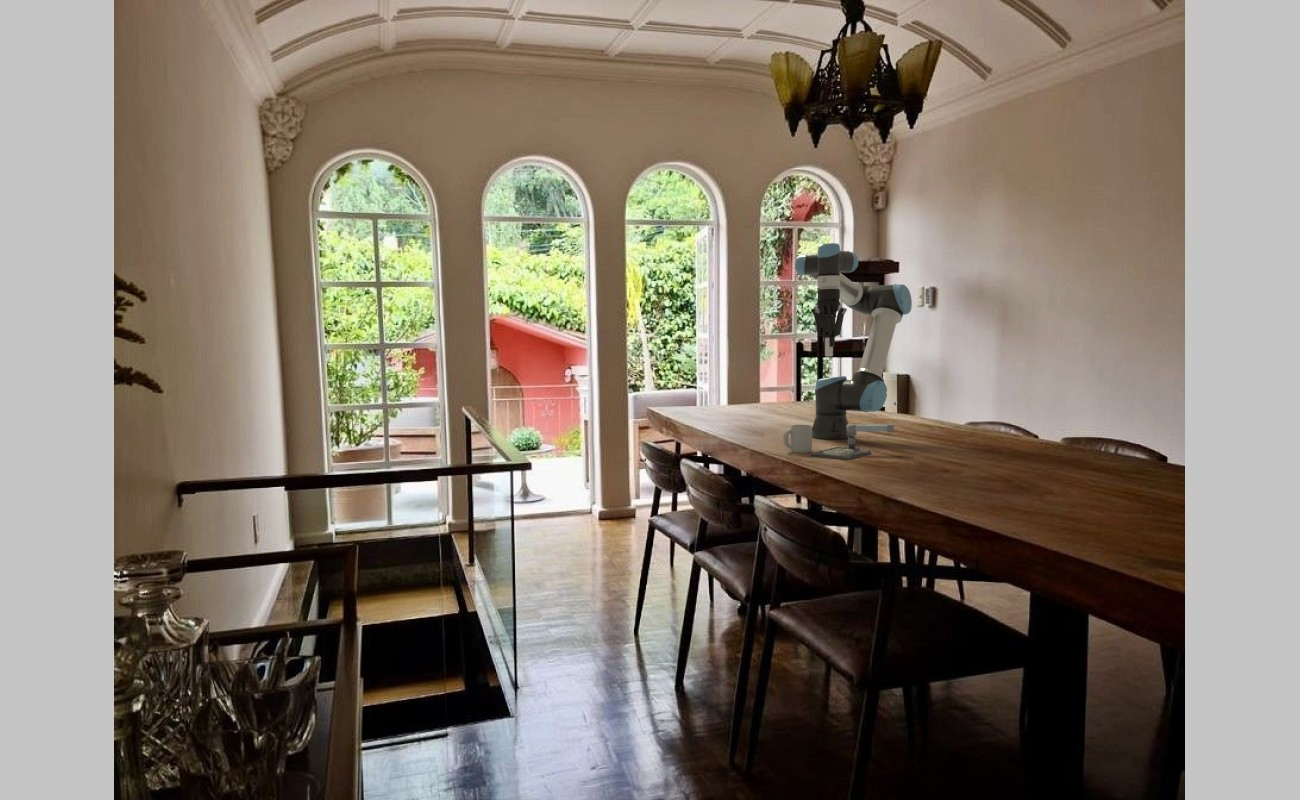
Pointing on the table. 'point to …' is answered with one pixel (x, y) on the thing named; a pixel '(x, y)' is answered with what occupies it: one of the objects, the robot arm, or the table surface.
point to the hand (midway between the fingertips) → (829, 356)
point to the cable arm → (868, 428)
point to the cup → (799, 438)
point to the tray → (843, 451)
